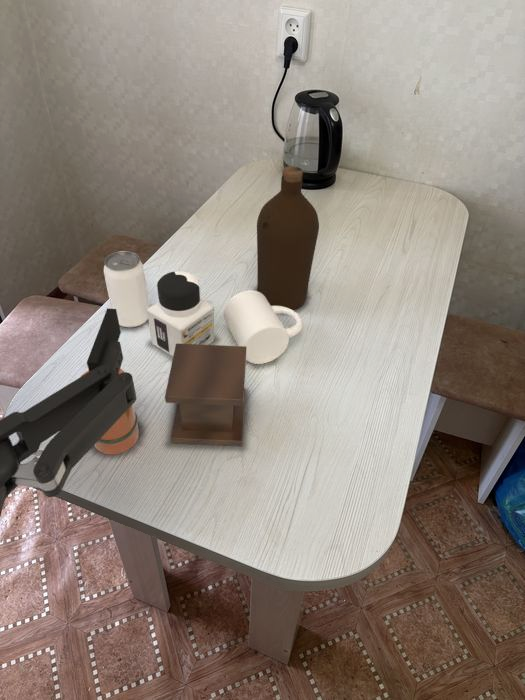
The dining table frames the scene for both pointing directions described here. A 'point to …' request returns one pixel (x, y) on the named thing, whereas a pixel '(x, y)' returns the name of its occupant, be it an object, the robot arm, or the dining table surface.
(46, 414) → the robot arm
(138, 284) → the can
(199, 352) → the stand
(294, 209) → the olive oil
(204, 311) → the container
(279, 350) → the mug
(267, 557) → the dining table surface
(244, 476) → the dining table surface
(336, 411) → the dining table surface
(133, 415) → the banded candle
